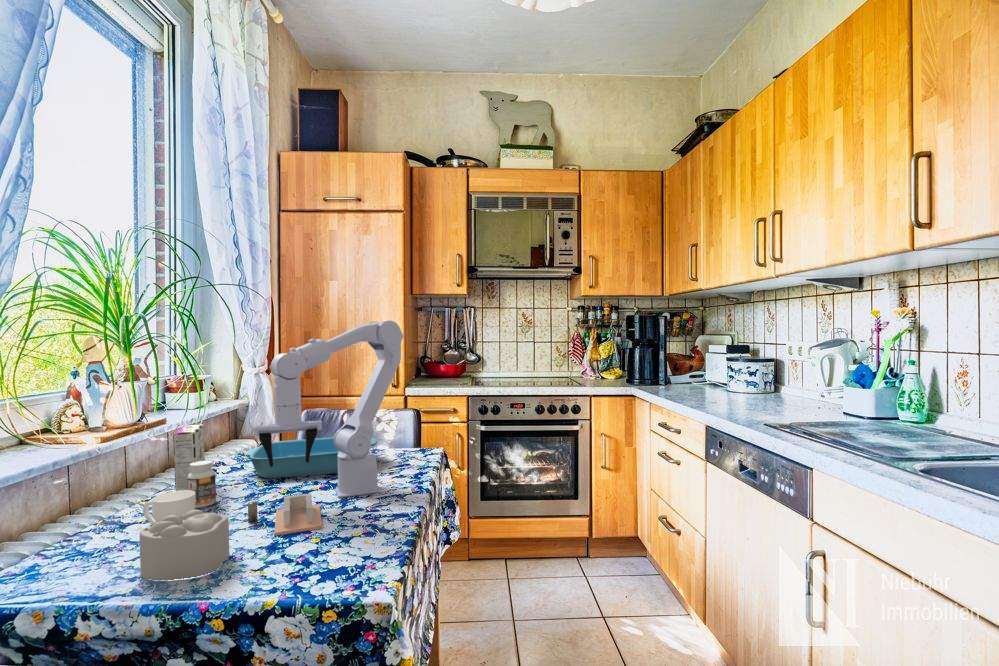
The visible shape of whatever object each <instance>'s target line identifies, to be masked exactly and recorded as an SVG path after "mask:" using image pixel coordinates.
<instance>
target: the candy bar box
mask: <svg viewBox="0 0 999 666" xmlns="http://www.w3.org/2000/svg"><path fill="white" fill-rule="evenodd" d="M204 436H205V434H204V424H203V423H201V424H190V425H189V424H186V425H183V426H182V427H181V428H179V429H177V430H176V431H175V432H174V433H173V434H172V439H173V440H172V441H173V445H172V446H173V461H174V480H175V481H174V483H175V484H174V486H175V491H179V490H188V484H187V477H188V475H189V474H190V473H191V470H190V464H191V463H193V462H198V461H206V459H205V457H206V455H205V440H204V439H205V437H204Z"/></svg>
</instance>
